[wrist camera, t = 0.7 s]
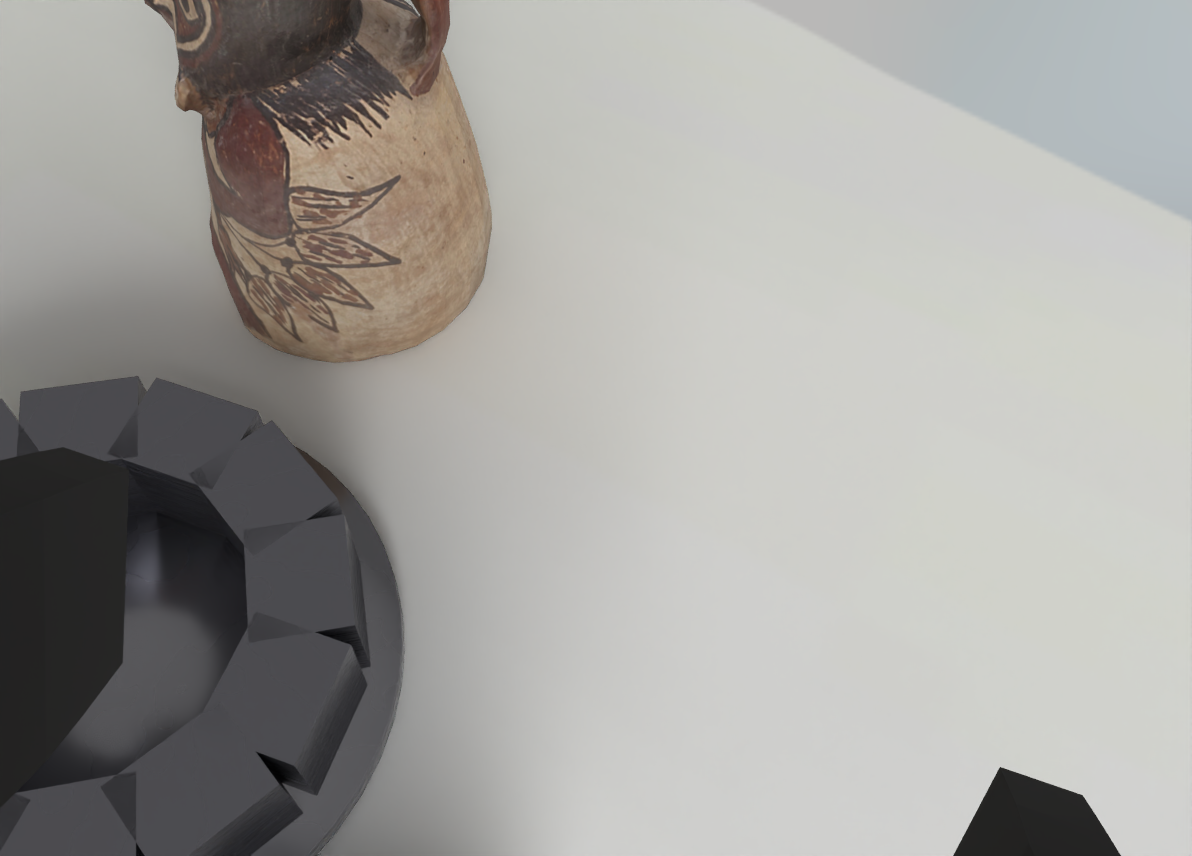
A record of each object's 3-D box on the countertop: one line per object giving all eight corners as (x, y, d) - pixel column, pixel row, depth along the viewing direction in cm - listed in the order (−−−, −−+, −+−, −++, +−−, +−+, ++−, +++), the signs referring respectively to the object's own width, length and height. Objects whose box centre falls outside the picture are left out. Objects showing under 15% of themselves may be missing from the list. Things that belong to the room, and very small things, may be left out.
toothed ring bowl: (243, 1073, 20) (200, 1072, 18) (-315, 845, 22) (-433, 812, 19) (486, 514, 26) (481, 450, 24) (33, 364, 28) (-19, 287, 25)
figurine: (266, 142, 32) (139, -309, 22) (513, 175, 32) (504, -263, 21) (187, 347, 28) (-10, -78, 18) (465, 385, 28) (428, -20, 18)
